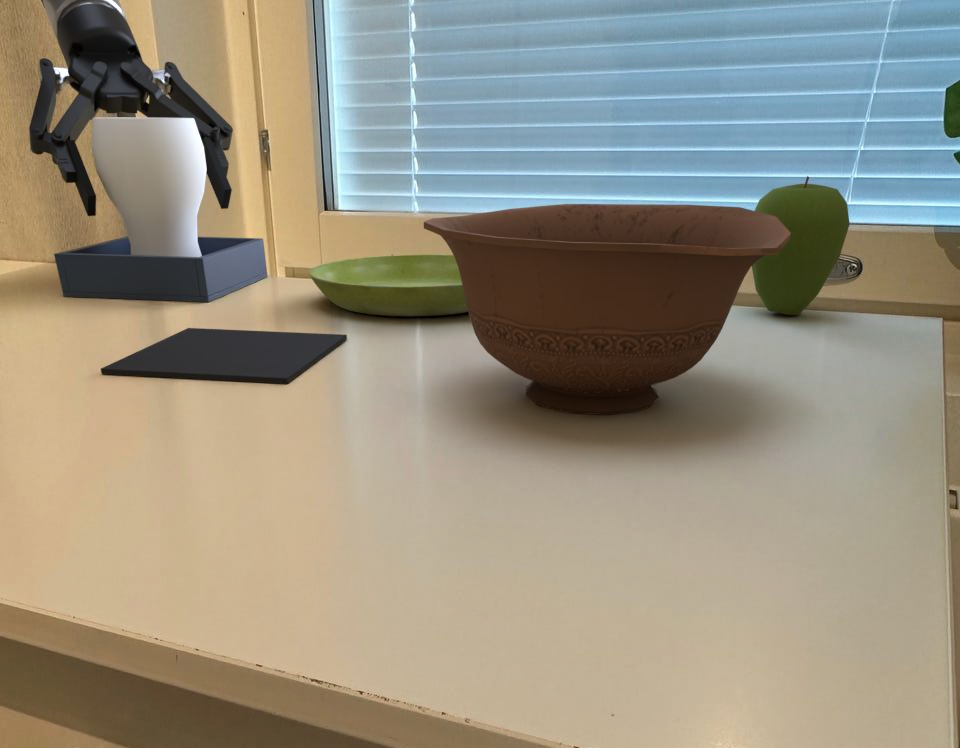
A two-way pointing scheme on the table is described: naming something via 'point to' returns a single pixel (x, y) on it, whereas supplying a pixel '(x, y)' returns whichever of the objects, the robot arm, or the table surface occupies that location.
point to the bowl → (604, 292)
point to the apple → (801, 245)
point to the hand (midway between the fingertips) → (161, 203)
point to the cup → (153, 180)
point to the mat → (229, 355)
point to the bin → (161, 270)
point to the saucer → (394, 285)
